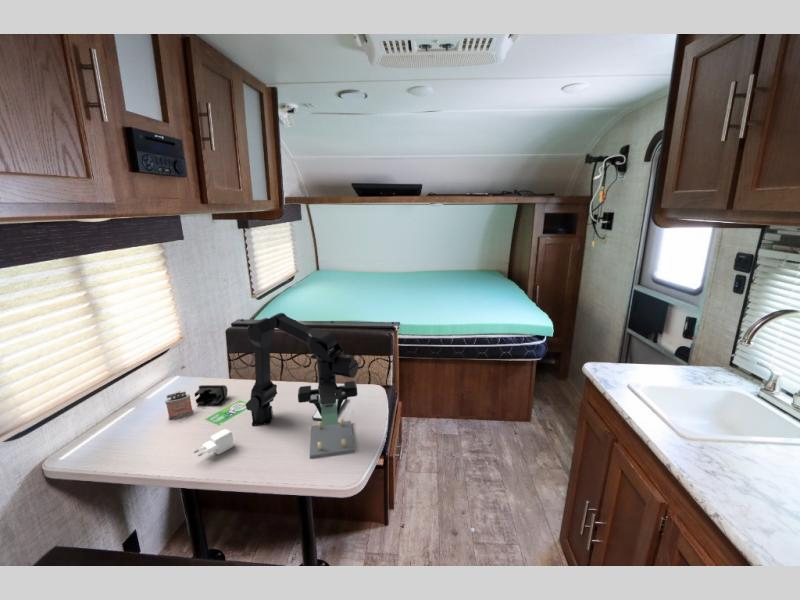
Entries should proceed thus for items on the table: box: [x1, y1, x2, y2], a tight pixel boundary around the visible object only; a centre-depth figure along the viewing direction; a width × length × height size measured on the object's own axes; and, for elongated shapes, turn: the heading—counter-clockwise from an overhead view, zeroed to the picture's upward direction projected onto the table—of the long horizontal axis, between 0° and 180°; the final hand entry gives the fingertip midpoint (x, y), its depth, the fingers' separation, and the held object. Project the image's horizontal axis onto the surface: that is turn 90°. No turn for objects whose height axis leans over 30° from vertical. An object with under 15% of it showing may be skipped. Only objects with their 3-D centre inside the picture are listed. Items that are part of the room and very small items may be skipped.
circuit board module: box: [321, 401, 339, 426], centre depth 121 cm, size 5×9×4 cm, turn 11°
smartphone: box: [311, 398, 348, 422], centre depth 142 cm, size 9×2×16 cm
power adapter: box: [193, 428, 235, 457], centre depth 117 cm, size 11×5×6 cm, turn 143°
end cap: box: [194, 384, 228, 407], centre depth 147 cm, size 10×7×7 cm
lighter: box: [164, 390, 194, 421], centre depth 138 cm, size 8×3×10 cm, turn 123°
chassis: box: [309, 417, 355, 459], centre depth 124 cm, size 14×16×4 cm
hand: (329, 414), depth 121 cm, fingers closed on circuit board module, 5 cm apart
